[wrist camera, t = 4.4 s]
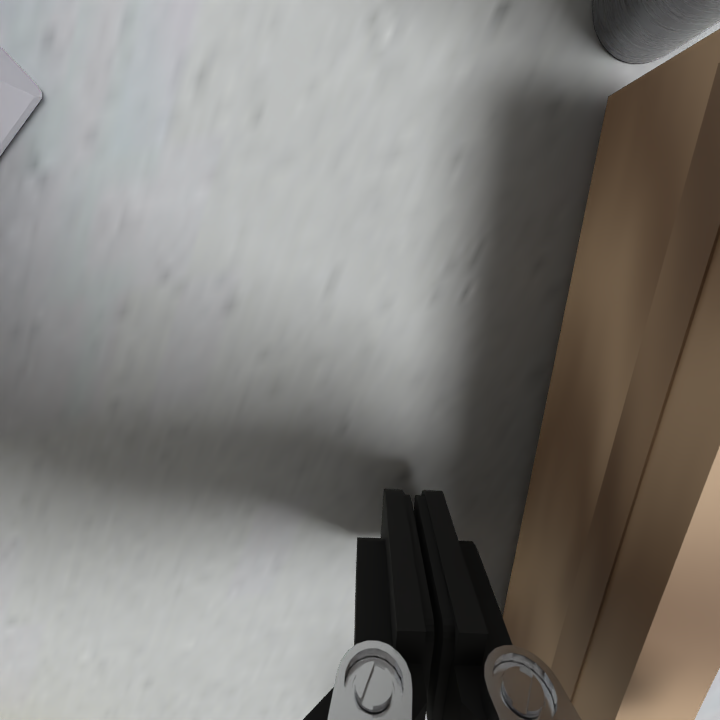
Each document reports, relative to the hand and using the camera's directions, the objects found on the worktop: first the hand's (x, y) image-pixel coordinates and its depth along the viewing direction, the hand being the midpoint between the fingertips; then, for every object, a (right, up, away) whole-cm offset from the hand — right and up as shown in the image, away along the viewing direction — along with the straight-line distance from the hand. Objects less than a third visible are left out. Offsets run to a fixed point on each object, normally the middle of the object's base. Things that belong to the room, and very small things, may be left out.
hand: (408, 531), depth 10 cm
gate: (+4, +2, 0) cm, 5 cm away
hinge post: (+5, +13, -3) cm, 14 cm away
